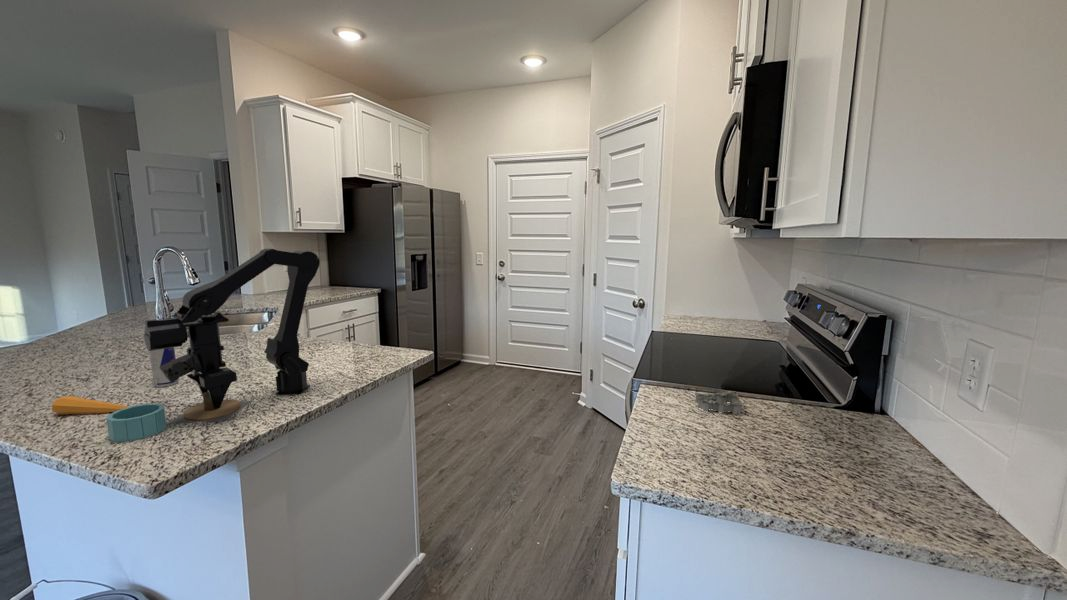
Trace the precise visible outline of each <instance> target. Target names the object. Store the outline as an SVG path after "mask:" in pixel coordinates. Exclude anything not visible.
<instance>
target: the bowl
mask: <svg viewBox="0 0 1067 600" xmlns="http://www.w3.org/2000/svg"><path fill="white" fill-rule="evenodd" d="M105 420H106V425H107V427H106V428H107V432H108V433H107V434H108V439H109V441H112V442H114V443H125V442H126V443H127V442H134V441H138V440H143V439H146V438H149V437H152V436H154V435H158V434H159V433H161V432H163V431H164V430H166V429H167V427H168V421H167V413H166V405H165V404H162V403H156V402H154V403H144V404H142V403H141V404H139V405H138V404H137V405H132V406H129V407H128V408H124V409H121V410H118V411H116V412H113V413H108V415H107V417H106V419H105Z"/></svg>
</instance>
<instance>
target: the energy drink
mask: <svg viewBox="0 0 1067 600" xmlns="http://www.w3.org/2000/svg"><path fill="white" fill-rule="evenodd" d="M149 356H150V357H149V358H150V364H151V365H150V366H151V372H152V379H153V386H154V387H155V388H165V387H171V386H173V385H174V386H175V385H176V384H178V383H179V379H177V380H175V381H172V382H170V381H169V380H168V379H167V378H166V377H165V375H164V374H163V372H162V371H161V370H160V368H159V367H160V366H162V365H164V364H166V363H168V362H170V361H172V360H174V359H177V358H176V351H175V347H173V348H167V349H160V350H154V351H149Z"/></svg>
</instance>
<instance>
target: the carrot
mask: <svg viewBox="0 0 1067 600" xmlns="http://www.w3.org/2000/svg"><path fill="white" fill-rule="evenodd" d="M128 407H130V405H129V406H128V405H124V404H120V403H119V404H118V403H113V402H107V401H101V400H95V399H89V398H84V397H77V396H70V395H68V396H61V397H58V398H56V399H54V402H53V403H52V404H51V412H54V413H55V414H57V415H61V416H65V415H66V414H67V416H68V414H72V415H90V414H92V413H95V414H110V413H109V412H116V411H118V410H121V409H124V408H128ZM92 415H93V414H92Z"/></svg>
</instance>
